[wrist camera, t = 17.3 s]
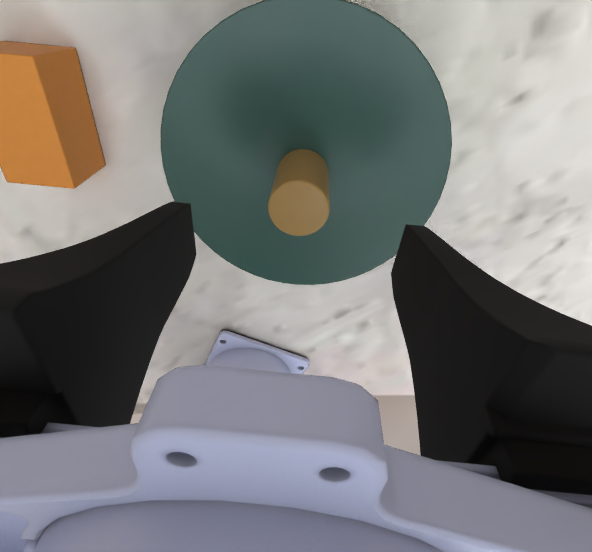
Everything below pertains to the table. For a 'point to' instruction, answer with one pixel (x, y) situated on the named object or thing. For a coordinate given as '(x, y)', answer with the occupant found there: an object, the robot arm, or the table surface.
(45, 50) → the soap
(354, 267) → the tin lid
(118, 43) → the table surface
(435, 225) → the table surface
